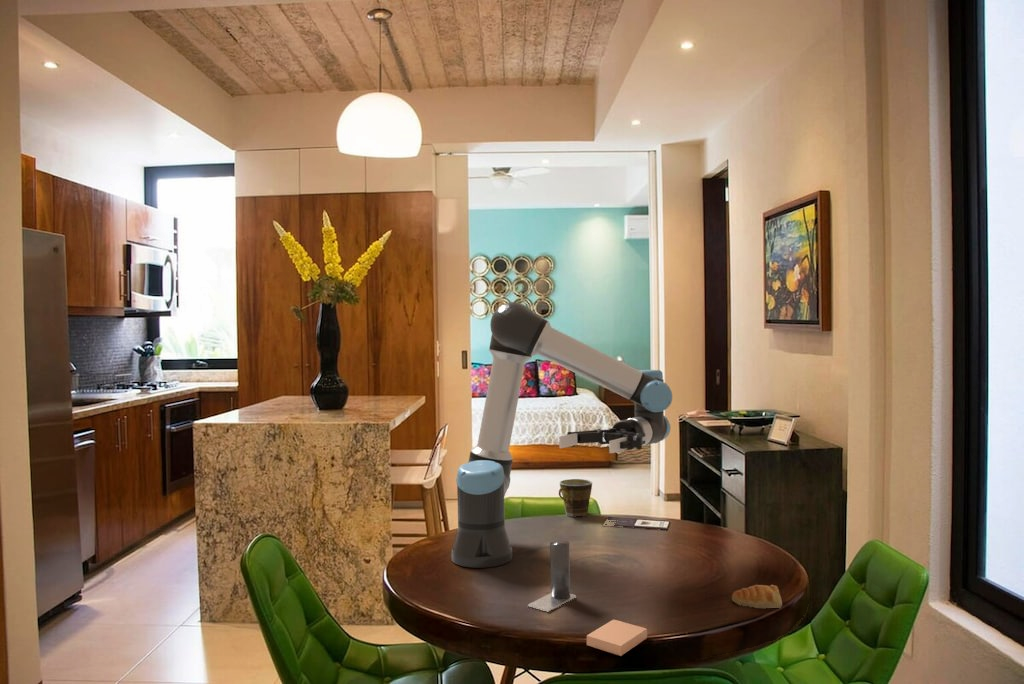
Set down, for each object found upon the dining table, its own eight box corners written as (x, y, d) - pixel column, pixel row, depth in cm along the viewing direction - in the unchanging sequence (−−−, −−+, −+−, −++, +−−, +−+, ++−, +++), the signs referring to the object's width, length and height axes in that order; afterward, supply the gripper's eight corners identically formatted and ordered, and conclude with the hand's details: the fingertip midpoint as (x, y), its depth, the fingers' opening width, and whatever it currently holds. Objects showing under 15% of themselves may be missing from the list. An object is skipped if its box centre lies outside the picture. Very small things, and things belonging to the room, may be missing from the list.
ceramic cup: (574, 509, 222) (573, 477, 222) (599, 514, 215) (598, 481, 215) (547, 517, 213) (546, 484, 213) (572, 522, 206) (571, 488, 206)
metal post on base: (528, 607, 142) (526, 550, 142) (556, 592, 150) (555, 538, 150) (548, 613, 139) (546, 554, 139) (576, 598, 146) (574, 542, 146)
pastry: (736, 610, 139) (736, 591, 139) (728, 597, 145) (727, 579, 145) (784, 610, 138) (784, 591, 138) (774, 598, 145) (774, 579, 145)
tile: (613, 630, 131) (586, 647, 124) (613, 619, 131) (586, 635, 124) (647, 640, 126) (621, 658, 119) (646, 628, 126) (620, 646, 119)
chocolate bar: (608, 516, 210) (669, 520, 204) (608, 519, 210) (669, 523, 204) (602, 524, 202) (666, 528, 196) (602, 527, 202) (666, 532, 196)
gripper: (677, 452, 169) (633, 466, 152) (589, 444, 184) (541, 456, 168) (676, 421, 168) (633, 432, 152) (588, 416, 184) (540, 424, 168)
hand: (584, 444), depth 160 cm, fingers open, 13 cm apart
